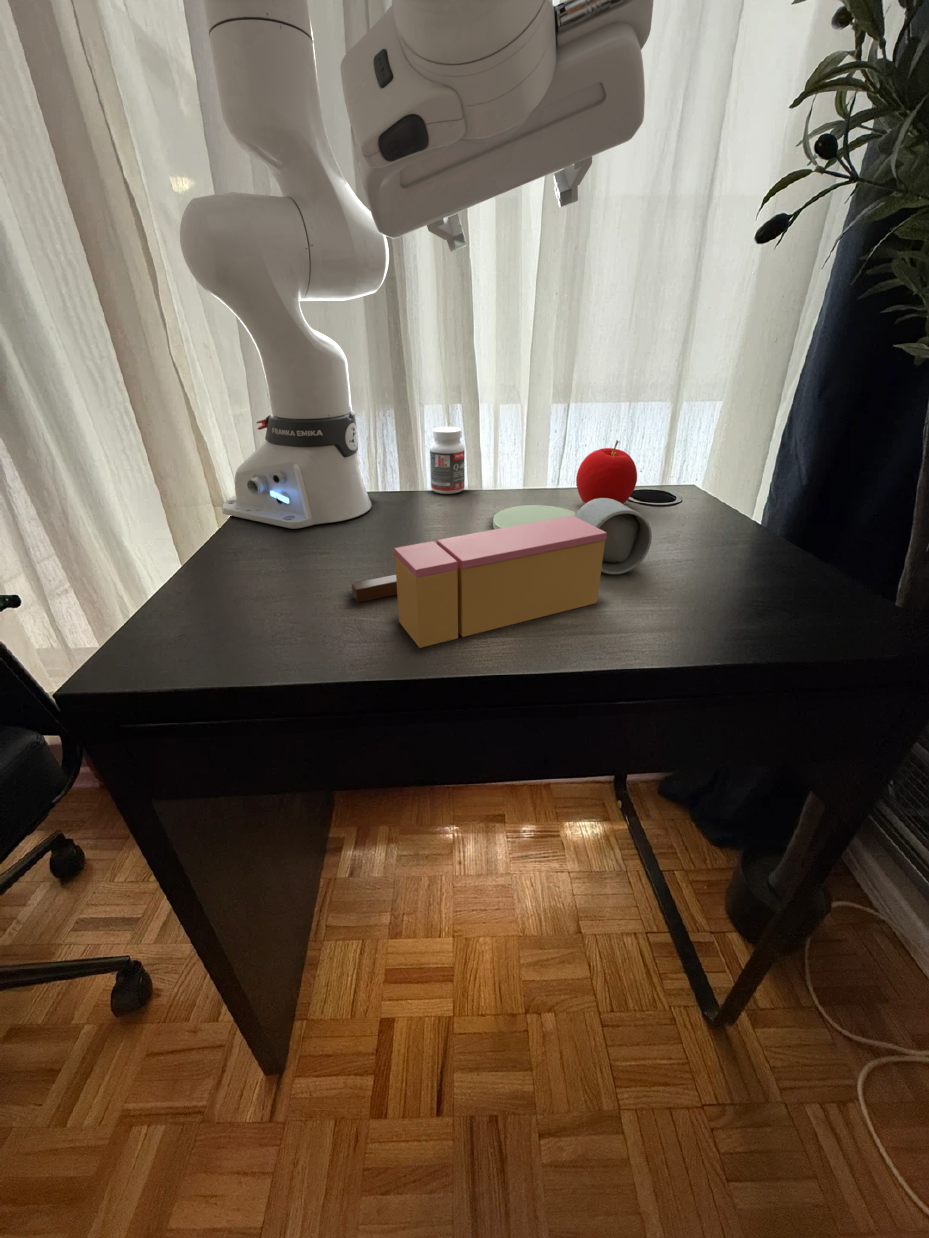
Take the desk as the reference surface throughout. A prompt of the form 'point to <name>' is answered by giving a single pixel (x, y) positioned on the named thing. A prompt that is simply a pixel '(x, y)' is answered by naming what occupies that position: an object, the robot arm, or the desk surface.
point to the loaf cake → (525, 572)
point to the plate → (528, 515)
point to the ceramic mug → (618, 533)
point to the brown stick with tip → (374, 588)
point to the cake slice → (427, 593)
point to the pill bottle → (447, 461)
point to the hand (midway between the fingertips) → (510, 220)
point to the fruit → (606, 475)
